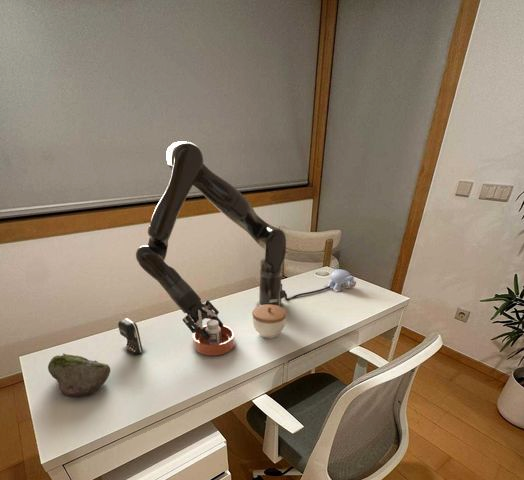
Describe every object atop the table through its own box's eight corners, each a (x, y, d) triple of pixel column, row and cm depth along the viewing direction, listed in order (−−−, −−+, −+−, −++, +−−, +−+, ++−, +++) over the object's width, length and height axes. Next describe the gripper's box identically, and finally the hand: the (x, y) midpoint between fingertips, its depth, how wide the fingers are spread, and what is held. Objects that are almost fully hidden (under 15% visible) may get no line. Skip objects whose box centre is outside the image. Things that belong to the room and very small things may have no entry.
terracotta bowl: (217, 330, 123) (216, 320, 120) (242, 345, 115) (242, 334, 112) (186, 345, 114) (184, 334, 112) (211, 361, 106) (210, 350, 104)
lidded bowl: (247, 338, 119) (246, 311, 113) (259, 322, 129) (259, 297, 123) (279, 344, 116) (280, 317, 109) (289, 328, 125) (291, 302, 119)
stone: (120, 386, 95) (112, 359, 89) (69, 409, 87) (56, 380, 81) (96, 359, 106) (88, 333, 100) (49, 377, 98) (37, 350, 92)
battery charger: (123, 349, 111) (115, 320, 105) (133, 344, 114) (125, 316, 107) (133, 357, 108) (126, 327, 101) (143, 352, 110) (137, 323, 104)
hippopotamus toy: (344, 295, 152) (348, 276, 147) (322, 285, 162) (325, 267, 157) (360, 291, 157) (363, 272, 152) (337, 281, 167) (340, 263, 162)
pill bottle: (215, 338, 117) (214, 317, 112) (224, 344, 114) (223, 322, 109) (203, 343, 114) (201, 322, 109) (212, 349, 111) (211, 327, 106)
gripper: (176, 298, 101) (210, 337, 103) (201, 282, 112) (231, 318, 114) (165, 310, 105) (198, 347, 108) (190, 294, 116) (219, 328, 119)
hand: (215, 332), depth 111 cm, fingers open, 8 cm apart
